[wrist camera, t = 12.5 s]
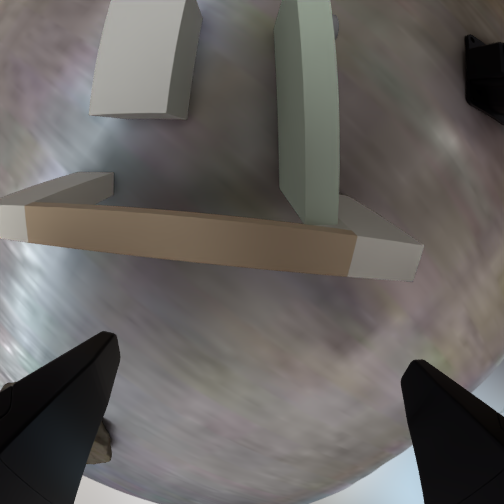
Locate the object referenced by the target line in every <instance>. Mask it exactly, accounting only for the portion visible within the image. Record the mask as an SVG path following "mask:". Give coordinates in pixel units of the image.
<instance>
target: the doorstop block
mask: <svg viewBox="0 0 504 504" xmlns="http://www.w3.org/2000/svg"><path fill="white" fill-rule="evenodd" d="M202 20H203V18H202V15H201V12H200V9H199V7H198V4H197V1H196V0H111V3H110V6H109V10H108V13H107V17H106V21H105V25H104V29H103V33H102V37H101V41H100V46H99V51H98V56H97V61H96V66H95V72H94V78H93V85H92V92H91V100H90V109H89V115H91V116H102V117H112V118H121V119H181V120H187V116H188V108H189V100H190V93H191V85H192V78H193V72H194V65H195V59H196V53H197V47H198V41H199V36H200V30H201V25H202Z"/></svg>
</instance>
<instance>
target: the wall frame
mask: <svg viewBox="0 0 504 504" xmlns="http://www.w3.org/2000/svg"><path fill="white" fill-rule="evenodd" d="M113 195H114V172H76V173H73V174H69V175H66V176H63V177H59V178H56V179H53V180H50V181H46V182H43V183H40V184H37V185H34V186H31V187H29V188H26V189H23V190H20V191H17V192H15V193H12V194H9V195H7V196H4V197H1V198H0V239H6V240H13V241H20V242H28V243H35V244H43V245H50V246H58V247H66V248H74V249H82V250H90V251H98V252H107V253H115V254H124V255H132V256H141V257H150V258H159V259H168V260H177V261H186V262H196V263H205V264H215V265H225V266H235V267H245V268H255V269H265V270H276V271H287V272H298V273H309V274H320V275H331V276H343V277H355V278H367V279H380V280H393V281H406V282H413V280H414V277H415V274H416V271H417V268H418V265H419V262H420V259H421V256H422V252H423V249H424V245H423V244H421V243H420V242H419V241H417V240H416V239H414V238H413V237H411V236H410V235H409V234H407V233H406V232H404V231H403V230H401V229H400V228H398V227H397V226H395V225H394V224H392V223H391V222H389V221H388V220H386V219H384V218H383V217H381V216H380V215H378V214H377V213H375V212H374V211H372V210H370V209H369V208H367V207H366V206H364V205H362V204H361V203H359V202H357V201H356V200H354V199H352V198H351V197H349V196H346V195H340V194H339V206H338V225H307V224H299V223H291V222H282V221H273V220H265V219H256V218H246V217H237V216H227V215H217V214H207V213H196V212H185V211H173V210H161V209H148V208H135V207H120V206H105V205H95V204H97V203H99V202H101V201H103V200H105V199H107V198H109V197H110V196H113Z"/></svg>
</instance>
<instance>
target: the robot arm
mask: <svg viewBox="0 0 504 504" xmlns="http://www.w3.org/2000/svg"><path fill="white" fill-rule="evenodd" d="M465 39H466V59H467V89H466V99H467V102H468V103H469V104H470V105H471V106H473V107H475V108H477V109H478V110H480V111H482V112H484V113H485V114H487V115H488V116H490V117H492V118H493V119H495V120H496V121H498V122H500V123H501V124H503V125H504V43H501V42H496V43H492V44H487V45H486V44H484V43H483V42H481V41H480V40H479V39H477V38H476V37H474V36H473V35H471V34H470V35H466V37H465ZM472 100H473V101H472ZM119 362H120V351H119V345H118V339H117V336H116V334H114V333H110V332H106V331H102V332H100V333H98V334H97V335H95V336H93V337H91V338H90V339H88V340H86V341H85V342H83V343H81V344H80V345H78V346H76V347H75V348H73V349H71V350H69V351H68V352H66V353H64V354H63V355H61V356H59V357H58V358H56V359H54V360H53V361H51V362H49V363H48V364H46V365H44V366H43V367H41V368H39V369H38V370H36V371H34V372H33V373H31V374H29V375H28V376H26V377H24V378H23V379H21V380H19V381H18V382H16V383H14V384H13V386H12V385H11V386H9V387H7V388H6V389H4V390H2V391H1V392H0V504H74V501H75V497H76V494H77V490H78V487H79V484H80V481H81V478H82V475H83V472H84V469H85V466H86V463H87V460H88V457H89V454H90V451H91V448H92V446H93V443H94V440H95V437H96V435H97V432H98V429H99V427H100V424H101V421H102V419H103V416H104V413H105V411H106V408H107V405H108V402H109V399H110V395H111V391H112V387H113V384H114V380H115V376H116V373H117V369H118V366H119ZM401 388H402V394H403V399H404V405H405V411H406V417H407V423H408V427H409V431H410V435H411V439H412V443H413V448H414V452H415V456H416V461H417V465H418V470H419V475H420V480H421V486H422V491H423V497H424V503H425V504H504V417H503V416H502V415H501V414H499V413H498V412H497V413H496V411H495V410H494V409H492V408H491V407H490V406H488V405H487V404H485V403H484V402H482V401H481V400H480V399H478V398H477V397H475V396H474V395H473V394H471V393H470V392H469V391H467V390H466V389H464V388H463V387H462V386H460V385H459V384H457V383H456V382H455V381H453V380H452V379H450V378H449V377H448V376H446V375H445V374H443V373H442V372H441V371H439V370H438V369H436V368H435V367H434V366H432V365H431V364H429V363H428V362H426V361H425V360H422V359H421V360H413V361H412V362H411V363H410V364H409V366H408V368H407V370H406V371H405V373H404V375H403V376H402V378H401Z"/></svg>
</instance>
